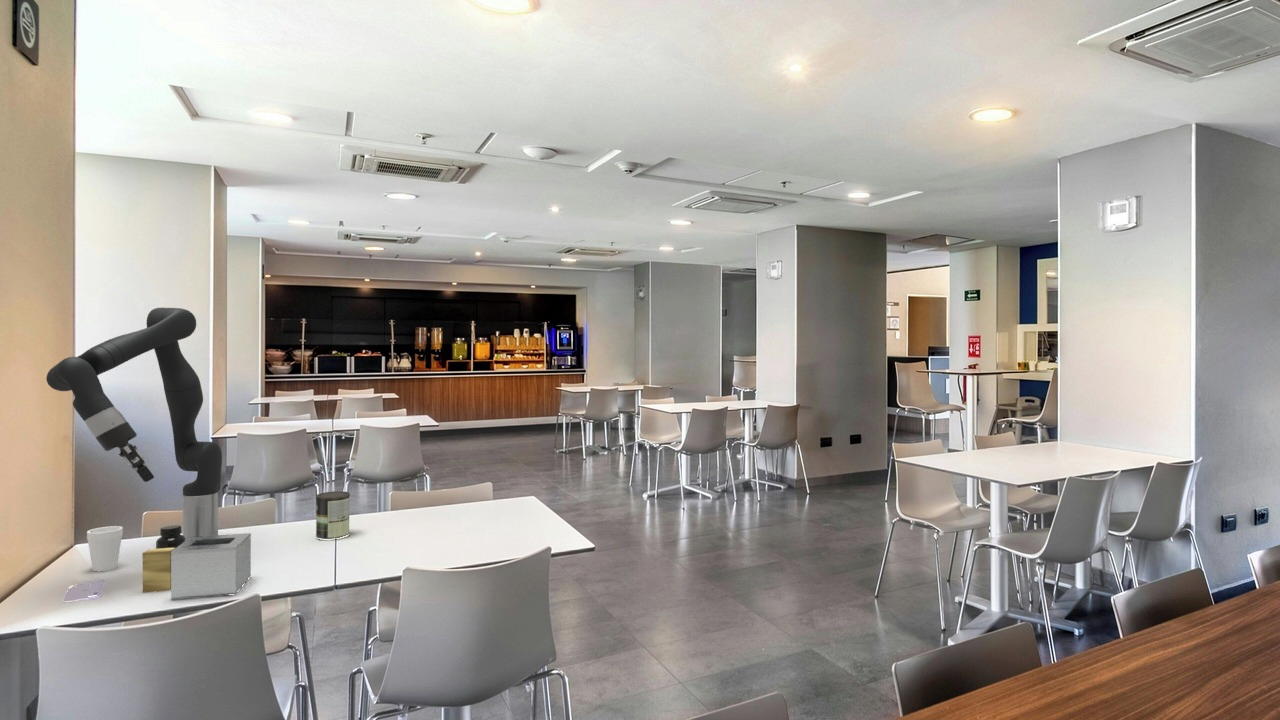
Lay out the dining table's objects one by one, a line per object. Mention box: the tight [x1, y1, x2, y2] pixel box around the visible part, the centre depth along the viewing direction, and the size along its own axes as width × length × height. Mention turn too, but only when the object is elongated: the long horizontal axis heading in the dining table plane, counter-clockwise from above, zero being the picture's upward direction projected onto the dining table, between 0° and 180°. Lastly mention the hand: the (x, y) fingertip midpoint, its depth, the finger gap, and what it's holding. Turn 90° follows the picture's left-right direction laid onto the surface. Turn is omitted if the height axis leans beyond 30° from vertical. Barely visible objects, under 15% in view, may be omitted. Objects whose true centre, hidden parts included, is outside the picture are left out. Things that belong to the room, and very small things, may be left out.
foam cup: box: [86, 525, 124, 573], centre depth 190 cm, size 8×8×11 cm
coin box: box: [170, 532, 252, 601], centre depth 175 cm, size 14×14×12 cm
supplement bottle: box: [155, 525, 185, 549], centre depth 189 cm, size 7×7×12 cm
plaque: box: [142, 548, 175, 593], centre depth 174 cm, size 4×6×10 cm, turn 106°
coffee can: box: [315, 490, 351, 539], centre depth 225 cm, size 10×10×14 cm
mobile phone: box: [63, 579, 106, 602], centre depth 172 cm, size 8×1×15 cm
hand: (149, 480), depth 178 cm, fingers open, 8 cm apart
